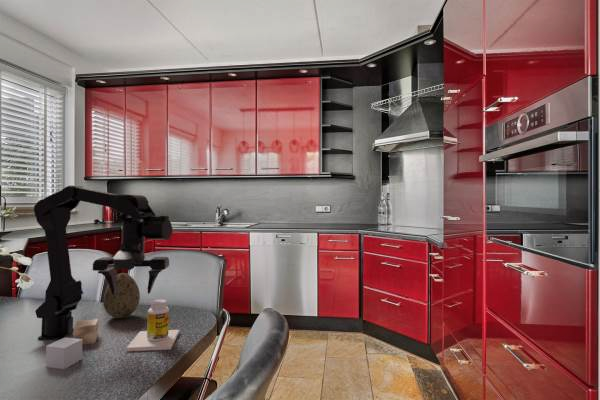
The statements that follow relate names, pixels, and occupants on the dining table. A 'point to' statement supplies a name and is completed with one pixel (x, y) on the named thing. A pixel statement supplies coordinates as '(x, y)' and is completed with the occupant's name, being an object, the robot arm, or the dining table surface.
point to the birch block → (86, 331)
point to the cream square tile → (152, 342)
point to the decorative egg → (122, 297)
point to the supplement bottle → (158, 321)
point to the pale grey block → (63, 353)
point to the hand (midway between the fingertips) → (131, 293)
